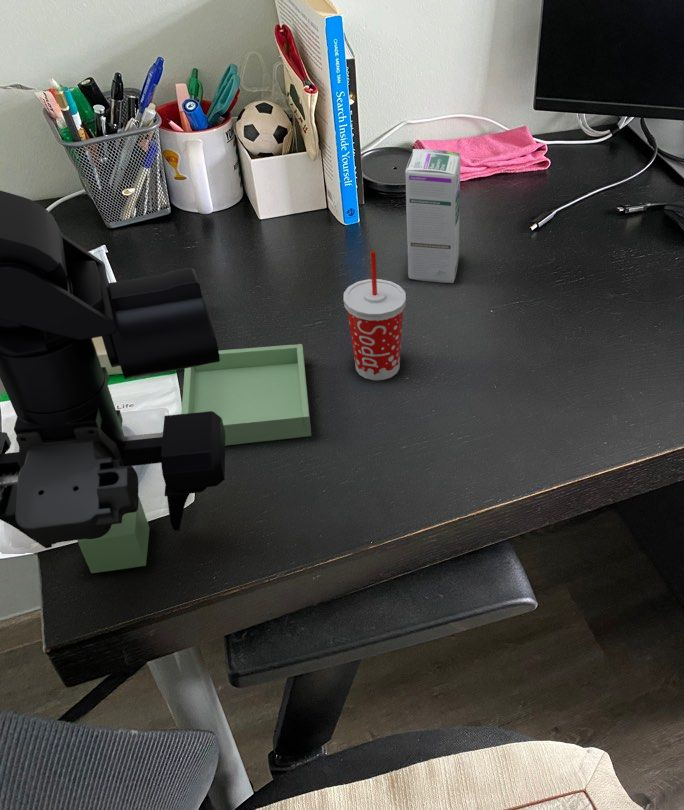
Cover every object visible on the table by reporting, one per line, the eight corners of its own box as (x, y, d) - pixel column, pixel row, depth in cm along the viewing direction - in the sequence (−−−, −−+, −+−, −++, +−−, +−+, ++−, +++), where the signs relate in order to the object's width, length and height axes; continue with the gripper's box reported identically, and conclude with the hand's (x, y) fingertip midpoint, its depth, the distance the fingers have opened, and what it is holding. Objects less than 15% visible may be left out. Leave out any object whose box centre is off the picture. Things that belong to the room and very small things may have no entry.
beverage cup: (336, 372, 85) (326, 256, 76) (368, 342, 90) (363, 228, 80) (387, 392, 84) (383, 276, 74) (417, 360, 88) (417, 247, 79)
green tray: (185, 450, 75) (180, 429, 73) (190, 373, 83) (185, 352, 81) (311, 436, 78) (309, 416, 76) (304, 363, 86) (302, 343, 84)
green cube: (90, 574, 64) (76, 541, 62) (97, 534, 67) (83, 502, 64) (146, 566, 65) (134, 534, 63) (149, 527, 68) (139, 495, 65)
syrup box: (454, 284, 100) (458, 173, 90) (406, 279, 99) (404, 168, 90) (459, 259, 104) (463, 151, 94) (412, 255, 104) (412, 146, 94)
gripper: (-148, 492, 46) (-45, 643, 57) (202, 453, 51) (238, 599, 62) (-92, 369, 54) (-11, 521, 65) (207, 345, 59) (238, 491, 69)
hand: (114, 534), depth 65 cm, fingers open, 9 cm apart
